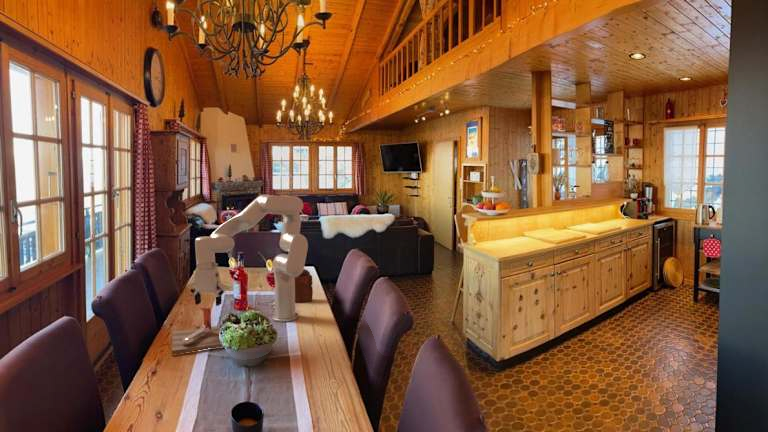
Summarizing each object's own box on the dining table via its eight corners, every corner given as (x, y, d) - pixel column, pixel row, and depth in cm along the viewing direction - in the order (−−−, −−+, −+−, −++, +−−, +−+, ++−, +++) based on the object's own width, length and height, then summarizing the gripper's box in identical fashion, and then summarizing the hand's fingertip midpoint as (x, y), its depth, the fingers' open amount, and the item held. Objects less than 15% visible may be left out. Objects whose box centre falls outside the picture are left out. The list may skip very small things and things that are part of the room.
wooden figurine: (311, 298, 253) (311, 267, 251) (312, 302, 247) (312, 269, 245) (290, 300, 250) (289, 268, 248) (291, 303, 244) (290, 271, 242)
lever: (205, 329, 197) (204, 307, 196) (213, 330, 196) (213, 308, 195) (180, 345, 180) (179, 320, 179) (190, 345, 179) (189, 321, 178)
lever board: (172, 336, 196) (172, 331, 195) (219, 330, 204) (219, 325, 203) (172, 355, 176) (171, 350, 176) (223, 348, 184) (223, 342, 183)
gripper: (229, 264, 194) (231, 302, 196) (193, 262, 197) (195, 300, 200) (219, 268, 187) (222, 308, 189) (182, 267, 190) (185, 306, 192)
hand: (208, 304), depth 194 cm, fingers open, 9 cm apart
